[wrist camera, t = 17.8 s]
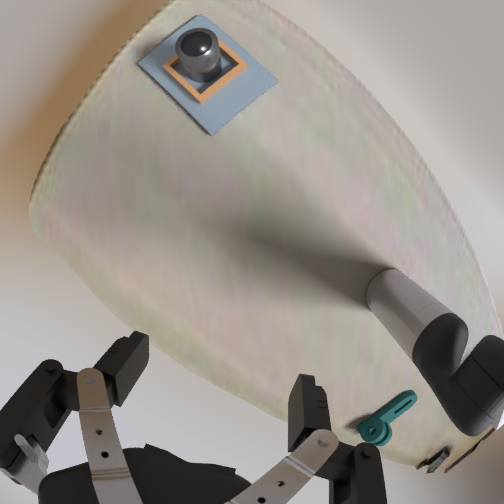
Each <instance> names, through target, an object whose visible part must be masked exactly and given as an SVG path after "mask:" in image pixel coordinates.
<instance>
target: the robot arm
mask: <svg viewBox="0 0 504 504" xmlns="http://www.w3.org/2000/svg"><path fill="white" fill-rule="evenodd" d="M366 303H367V305H368V307H369V308H370V310H371V311H372V312H373V313H374V314H375V316H376V317H377V318H378V319H379V321H380V322H381V323H382V324H383V325H384V327H385V328H386V329H387V330H388V331H389V333H390V334H391V335H392V336H393V338H394V339H395V340H396V341H397V343H398V344H399V345H400V346H401V348H402V349H403V350H404V351H405V353H406V354H407V355H408V356H409V358H410V359H411V360H412V361H413V363H414V364H415V365H416V367H417V368H418V369H419V371H420V373H421V374H422V376H423V377H424V379H425V380H426V381H427V383H428V384H429V386H430V387H431V389H432V390H433V392H434V393H435V395H436V397H437V398H438V400H439V402H440V403H441V405H442V407H443V408H444V410H445V412H446V413H447V415H448V416H449V418H450V419H451V421H452V422H453V423H454V424H455V426H456V427H457V428H458V429H459V430H460V431H461V432H463V433H464V434H466V435H468V436H477V435H479V434H481V433H482V432H483V431H484V430H485V429H486V428H487V427H488V426H489V425H490V424H491V423H492V422H493V421H494V420H495V419H496V418H497V417H498V416H499V415H500V413H501V412H502V411H503V410H504V340H502V339H501V338H499V337H496V336H494V335H487V336H485V337H484V338H483V339H482V340H481V341H480V342H479V343H478V344H477V345H476V347H475V348H474V349H473V350H472V352H471V353H470V354H471V355H469V356H468V357H467V358H466V359H465V361H464V362H463V363H462V364H461V366H460V367H459V365H460V361H461V358H462V355H463V353H464V350H465V348H466V345H467V341H468V328H467V325H466V324H465V322H464V321H463V320H462V319H461V318H460V317H458V316H457V315H456V314H454V313H453V312H452V311H451V310H450V309H448V308H447V307H446V306H445V305H443V304H442V303H441V302H440V301H438V300H437V299H436V298H435V297H433V296H432V295H431V294H429V293H428V292H427V291H426V290H424V289H423V288H422V287H420V286H419V285H418V284H417V283H415V282H414V281H413V280H411V279H410V278H409V277H407V276H406V275H405V274H403V273H402V272H401V271H399V270H397V269H387V270H384V271H382V272H380V273H379V274H378V275H376V276H375V277H374V278H373V280H372V281H371V283H370V284H369V286H368V288H367V292H366ZM148 359H149V336H148V335H147V334H144V333H141V332H138V331H134V332H133V333H132V334H131V335H130V337H129V338H128V337H125V336H124V337H122V338H120V339H118V340H116V341H115V342H114V343H113V345H112V346H111V347H110V348H109V349H108V351H107V352H106V353H105V354H104V355H103V356H102V357H101V358H100V360H99V361H98V362H97V363H96V364H95V366H94V367H93V368H85V369H82V370H81V371H80V372H79V373H78V372H72V371H67V370H64V369H63V366H62V364H61V363H60V362H59V361H56V360H53V359H48V360H45V361H43V362H42V363H41V364H40V365H39V366H38V367H37V368H36V369H35V370H34V371H33V373H32V374H31V375H30V376H29V377H28V378H27V379H26V380H25V382H24V383H23V384H22V385H21V386H20V387H19V389H18V390H17V391H16V392H15V393H14V395H13V396H12V397H11V398H10V399H9V401H8V402H7V403H6V404H5V405H4V407H3V408H2V409H1V411H0V470H1V471H2V472H3V473H4V474H5V475H6V476H8V477H9V478H10V479H11V480H13V481H14V482H15V483H17V484H20V485H24V486H25V487H26V488H28V489H29V490H31V491H32V492H34V493H35V494H37V495H38V500H39V504H286V503H287V502H288V501H289V500H290V499H291V498H292V497H293V496H294V495H295V494H296V493H297V492H298V491H299V490H300V489H301V488H302V487H303V486H304V485H305V484H306V483H307V482H308V481H309V480H310V479H311V478H312V476H313V475H315V476H318V477H321V478H325V479H328V480H329V504H387V498H386V490H385V482H384V476H383V469H382V463H381V457H380V452H379V450H378V448H377V447H376V446H375V445H373V444H371V443H367V442H363V443H360V444H358V445H357V446H356V447H355V446H351V445H348V444H345V443H342V442H340V441H339V440H338V437H337V436H336V435H335V434H334V433H333V432H332V430H331V423H330V416H329V409H328V403H327V395H326V393H325V391H324V389H323V388H322V386H316V385H315V377H314V376H312V375H305V374H299V376H298V378H297V380H296V382H295V384H294V387H293V389H292V391H291V393H290V397H289V402H288V452H292V453H291V455H289V456H286V457H285V458H284V459H282V460H281V461H280V462H279V463H278V464H277V465H276V466H275V467H273V468H272V469H271V470H270V471H268V472H267V473H266V474H265V475H263V476H262V477H261V478H260V479H259V480H257V481H256V482H255V483H253V484H251V483H250V482H249V481H247V480H246V479H244V478H243V477H241V476H239V475H236V474H235V470H236V469H235V468H229V467H225V466H220V465H216V464H204V463H189V462H186V461H184V460H183V459H181V458H179V457H177V456H175V455H173V454H171V453H170V452H168V451H166V450H163V449H160V448H157V447H154V446H152V445H149V444H146V445H145V447H144V448H126V449H122V448H121V445H120V441H119V438H118V435H117V431H116V428H115V424H114V420H113V416H112V413H111V408H112V406H113V405H114V404H115V405H117V406H119V407H121V406H122V404H123V402H124V400H125V399H126V398H127V396H128V394H129V393H130V391H131V390H132V388H133V386H134V385H135V383H136V381H137V380H138V378H139V377H140V375H141V374H142V372H143V371H144V369H145V367H146V366H147V363H148ZM72 410H73V411H78V412H79V417H80V423H81V429H82V435H83V440H84V445H85V449H86V454H87V458H88V462H86V463H82V464H79V465H76V466H73V467H70V468H66V469H63V470H59V471H56V472H52V473H50V474H48V475H47V468H48V464H49V460H48V457H47V455H46V454H45V453H46V451H47V450H48V448H49V446H50V444H51V443H52V441H53V440H54V438H55V436H56V435H57V433H58V432H59V430H60V428H61V427H62V425H63V424H64V422H65V420H66V419H67V417H68V416H69V414H70V412H71V411H72Z"/></svg>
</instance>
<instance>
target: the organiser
mask: <svg viewBox="0 0 504 504" xmlns="http://www.w3.org/2000/svg"><path fill="white" fill-rule="evenodd" d="M193 28H206V29H209V30H211V31H213V32H214V33H215V34H216V36H217V38H218V43H219V49H220V56H221V62H222V70H221V73H220V75H219V76H218V77H217V78H216V79H214V80H213V81H210V82H207V83H199V82H196V81H194V80H192V79H191V78H190V77H189V75H188V73H187V71H186V70H185V68H184V66H183V64H182V62H181V61H180V59H179V57H178V55H177V53H176V51H175V44H176V41H177V39H178V38H179V36H180V35H181V34H183V33H184V32H186V31H188V30H190V29H193ZM138 64H139V65H140V66H141V67H143V68H144V69H145V70H146V71H147V72H148V73H149V74H150V75H151V76H152V77H153V78H154V79H155V80H156V81H157V82H158V83H159V84H161V85H162V86H163V87H164V88H165V89H166V90H167V91H168V92H169V93H170V94H171V95H172V96H173V97H174V98H175V99H176V100H177V101H178V102H179V103H180V104H181V105H182V106H183V107H184V108H185V109H186V110H187V111H188V112H189V113H190V114H191V115H192V116H193V117H194V118H195V119H196V120H197V121H198V122H199V123H200V124H201V125H202V126H203V127H204V128H205V129H206V130H207V131H208V132H209V133H210V134H211V135H212V136H213V135H214V134H215V133H216V132H217V131H219V130H220V129H221V128H222V127H223V126H224V125H226V124H227V123H228V122H229V121H230V120H231V119H233V118H234V117H235V116H236V115H237V114H239V113H240V112H241V111H242V110H244V109H245V108H246V107H247V106H249V105H250V104H251V103H252V102H254V101H255V100H256V99H257V98H259V97H260V96H261V95H263V94H264V93H265V92H267V91H268V90H269V89H271V88H272V87H273V86H275V85H276V84H277V83H278V80H277V79H276V78H275V77H274V76H273V75H272V74H271V73H270V72H269V71H268V70H267V69H266V68H265V67H264V66H263V65H261V64H260V63H259V62H258V61H257V60H256V59H255V58H254V57H253V56H252V55H251V54H250V53H248V52H247V51H246V50H245V49H244V48H243V47H242V46H241V45H239V44H238V43H237V42H236V41H235V40H234V39H232V38H231V37H230V36H229V35H228V34H226V33H225V32H224V31H223V30H222V29H220V28H219V27H218V26H217V25H215V24H214V23H213V22H211V21H210V20H209V19H208V18H206V17H205V16H204V15H202V14H200V15H199V16H197V17H196V18H194V19H193V20H191V21H190V22H188V23H187V24H186V25H184V26H183V27H182V28H180V29H179V30H177V31H176V32H175V33H174V34H172V35H171V36H170V37H168V38H167V39H166V40H165V41H163V42H162V43H161V44H160V45H158V46H157V47H156V48H155V49H154V50H152V51H151V52H150V53H149V54H148V55H147V56H146V57H144V58H143V59H142V60H141V61H140V62H139V63H138Z"/></svg>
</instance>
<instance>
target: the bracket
mask: <svg viewBox="0 0 504 504" xmlns="http://www.w3.org/2000/svg"><path fill="white" fill-rule="evenodd" d="M416 401H417V395H416V394H415V392H414V391H412V390H409V391H406V392H404V393H402V394H401V395H400V396H398V397H397V398H396V399H394V400H393V401H392V402H391V403H389V404H388V405H387V406H385V407H384V408H383V409H381V410H380V411H378V412H377V413H376V414H374V415H373V416H371V417H370V418H368V419H367V420H366V421H364V422H363V423H361V424H360V425H358V426H357V427H358V430H359V432H360V435H361V437H362V439H363V440H364V441H366V442H368V443H371V444H373V445H375V446H383V445H385V444H386V443H388V442H389V440H390V439H391V437H392V429H391V427H390V425H389V423H390V422H392V421H393V420H395V419H396V418H397V417H399V416H400V415H401V414H403V413H404V412H405V411H407V410H408V409H409V408H410V407H412V406H413V405H414V404H415V402H416Z"/></svg>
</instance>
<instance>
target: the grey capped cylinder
mask: <svg viewBox="0 0 504 504" xmlns="http://www.w3.org/2000/svg"><path fill="white" fill-rule="evenodd" d="M175 51H176V53H177V55H178V57H179V59H180V61H181V62H182V64H183V66H184V68H185V70H186V71H187V73H188V75H189V77H190V78H191V79H192V80H194V81H196V82H199V83H207V82H210V81H213V80H214V79H216V78H217V77H218V76H219V75H220V73H221V70H222V62H221V56H220V49H219V43H218V38H217V36H216V34H215V33H214V32H213V31H211V30H209V29H206V28H193V29H190V30H188V31H186V32H184V33H183V34H181V35H180V36H179V38H178V39H177V41H176V44H175Z"/></svg>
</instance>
